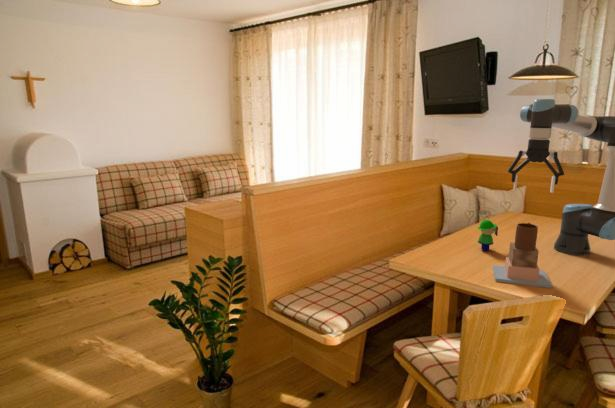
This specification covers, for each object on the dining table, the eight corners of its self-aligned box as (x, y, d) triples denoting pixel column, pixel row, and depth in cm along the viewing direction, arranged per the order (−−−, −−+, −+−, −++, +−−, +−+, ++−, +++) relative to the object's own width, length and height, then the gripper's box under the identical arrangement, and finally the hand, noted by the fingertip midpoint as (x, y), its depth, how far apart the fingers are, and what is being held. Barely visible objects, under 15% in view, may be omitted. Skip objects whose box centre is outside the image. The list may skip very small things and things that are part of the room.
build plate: (544, 273, 180) (546, 259, 178) (551, 288, 165) (553, 273, 164) (492, 267, 186) (494, 253, 185) (495, 281, 172) (497, 266, 170)
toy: (496, 253, 205) (499, 222, 201) (477, 251, 206) (480, 221, 203) (492, 247, 213) (495, 218, 210) (473, 246, 215) (476, 217, 212)
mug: (516, 241, 180) (519, 219, 178) (537, 244, 176) (539, 222, 174) (512, 249, 170) (515, 226, 168) (534, 252, 166) (537, 229, 164)
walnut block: (532, 260, 177) (534, 244, 176) (536, 268, 169) (538, 251, 167) (508, 258, 180) (510, 242, 178) (511, 265, 171) (513, 248, 170)
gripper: (572, 139, 169) (565, 191, 174) (504, 137, 177) (499, 187, 182) (577, 140, 162) (569, 195, 167) (506, 138, 171) (500, 190, 175)
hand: (532, 191), depth 175 cm, fingers open, 13 cm apart
